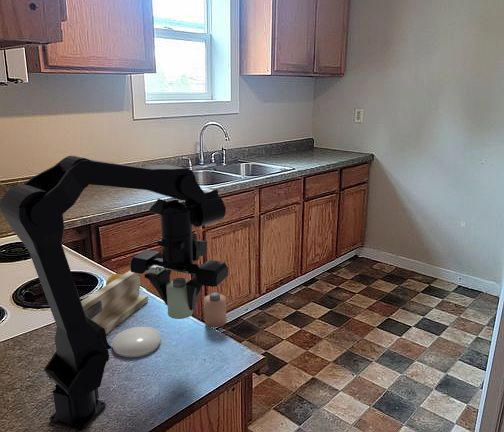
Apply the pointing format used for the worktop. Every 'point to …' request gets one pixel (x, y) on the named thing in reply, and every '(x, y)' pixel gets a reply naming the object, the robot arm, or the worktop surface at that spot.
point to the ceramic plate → (136, 342)
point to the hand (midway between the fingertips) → (180, 306)
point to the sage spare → (178, 299)
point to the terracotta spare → (215, 310)
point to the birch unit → (114, 301)
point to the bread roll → (118, 277)
